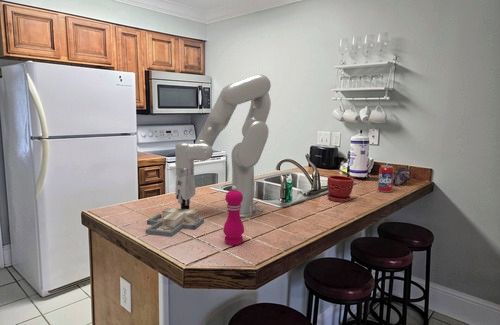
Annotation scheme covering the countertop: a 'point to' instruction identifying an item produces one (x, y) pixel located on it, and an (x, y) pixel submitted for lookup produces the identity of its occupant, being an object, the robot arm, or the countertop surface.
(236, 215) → the pepper mill
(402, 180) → the decorative flower
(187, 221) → the t block
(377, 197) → the countertop surface
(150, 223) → the dock
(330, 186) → the plant pot
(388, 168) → the soda can
